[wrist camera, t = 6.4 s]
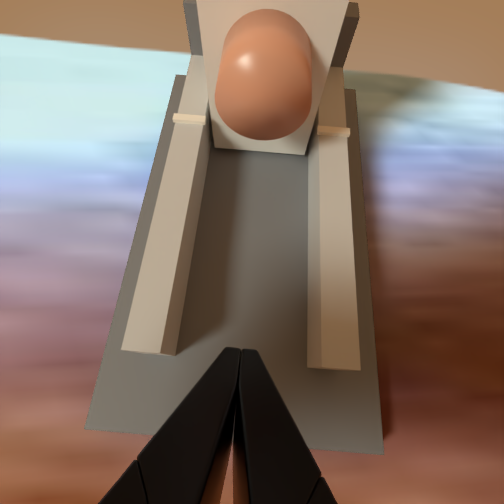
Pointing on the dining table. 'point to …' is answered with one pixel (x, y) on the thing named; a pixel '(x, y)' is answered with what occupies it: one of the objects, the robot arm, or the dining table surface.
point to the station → (249, 270)
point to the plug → (267, 69)
